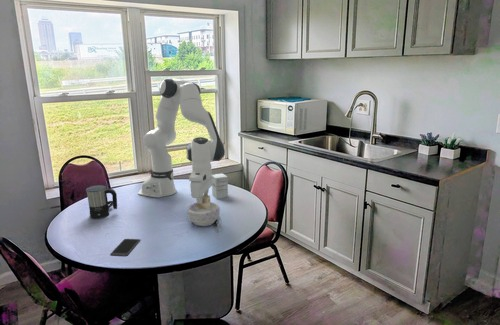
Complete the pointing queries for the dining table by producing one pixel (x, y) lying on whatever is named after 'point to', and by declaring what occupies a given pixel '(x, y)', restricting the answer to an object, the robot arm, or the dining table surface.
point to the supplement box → (220, 186)
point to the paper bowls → (204, 214)
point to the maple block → (204, 202)
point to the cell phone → (125, 247)
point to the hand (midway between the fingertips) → (203, 200)
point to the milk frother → (100, 201)
